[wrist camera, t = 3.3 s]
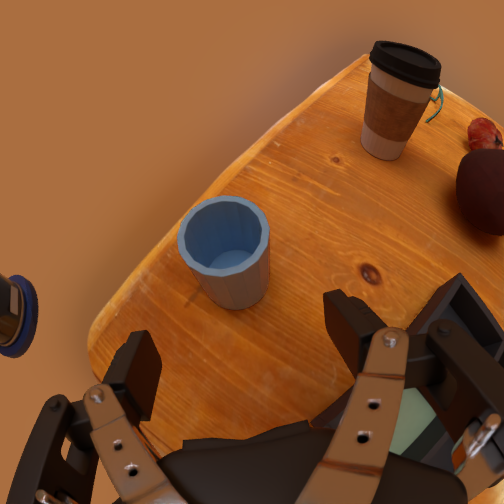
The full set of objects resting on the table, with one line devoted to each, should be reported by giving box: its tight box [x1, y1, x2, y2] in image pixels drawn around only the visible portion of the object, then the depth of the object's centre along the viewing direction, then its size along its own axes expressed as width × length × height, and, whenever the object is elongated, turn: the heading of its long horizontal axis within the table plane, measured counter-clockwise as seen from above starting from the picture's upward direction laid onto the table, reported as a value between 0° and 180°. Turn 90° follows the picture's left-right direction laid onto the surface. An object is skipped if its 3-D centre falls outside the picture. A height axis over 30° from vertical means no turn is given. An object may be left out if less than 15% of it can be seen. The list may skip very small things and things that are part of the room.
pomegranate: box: [468, 118, 504, 151], centre depth 29 cm, size 7×7×10 cm
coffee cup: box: [361, 41, 441, 160], centre depth 25 cm, size 8×8×15 cm
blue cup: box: [177, 196, 270, 310], centre depth 21 cm, size 6×6×8 cm
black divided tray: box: [310, 273, 504, 473], centre depth 15 cm, size 18×18×4 cm
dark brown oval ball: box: [456, 148, 504, 236], centre depth 21 cm, size 11×13×10 cm
